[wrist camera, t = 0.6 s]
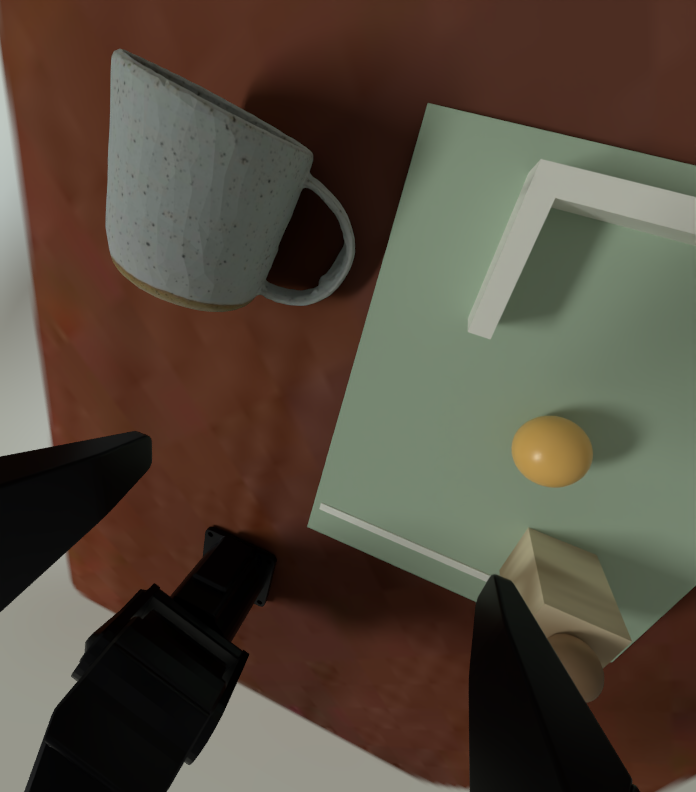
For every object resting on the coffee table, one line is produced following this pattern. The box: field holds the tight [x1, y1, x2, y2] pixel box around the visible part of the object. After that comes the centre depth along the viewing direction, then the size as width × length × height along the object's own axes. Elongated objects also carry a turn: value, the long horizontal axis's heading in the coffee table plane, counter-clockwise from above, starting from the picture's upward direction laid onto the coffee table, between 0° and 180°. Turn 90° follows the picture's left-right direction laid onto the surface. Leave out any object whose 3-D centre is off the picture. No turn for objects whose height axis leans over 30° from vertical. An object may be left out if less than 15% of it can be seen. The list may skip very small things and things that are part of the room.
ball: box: [511, 416, 593, 488], centre depth 18 cm, size 4×4×4 cm
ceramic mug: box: [106, 49, 355, 312], centre depth 17 cm, size 11×8×8 cm
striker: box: [499, 527, 632, 703], centre depth 19 cm, size 4×4×8 cm
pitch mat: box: [307, 103, 696, 662], centre depth 20 cm, size 26×22×1 cm
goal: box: [468, 159, 696, 340], centre depth 15 cm, size 6×12×3 cm, turn 74°
